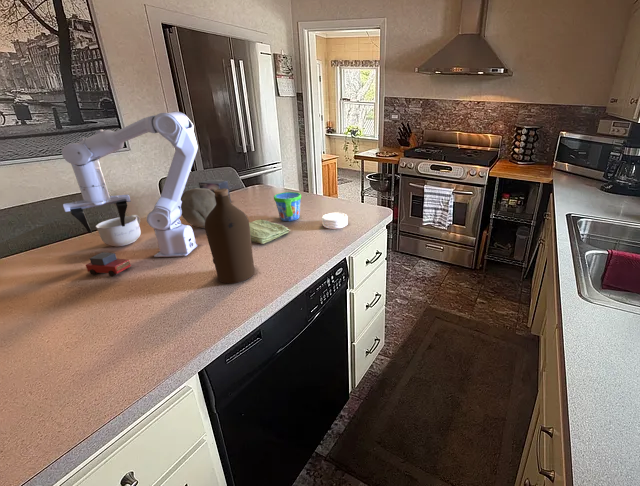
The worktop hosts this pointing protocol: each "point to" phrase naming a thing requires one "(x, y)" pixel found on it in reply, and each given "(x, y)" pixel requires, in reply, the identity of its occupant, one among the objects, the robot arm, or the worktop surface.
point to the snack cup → (288, 205)
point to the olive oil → (229, 240)
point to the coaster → (334, 220)
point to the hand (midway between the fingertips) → (107, 228)
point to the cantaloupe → (197, 205)
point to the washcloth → (266, 231)
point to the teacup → (119, 230)
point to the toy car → (107, 264)
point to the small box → (214, 185)
